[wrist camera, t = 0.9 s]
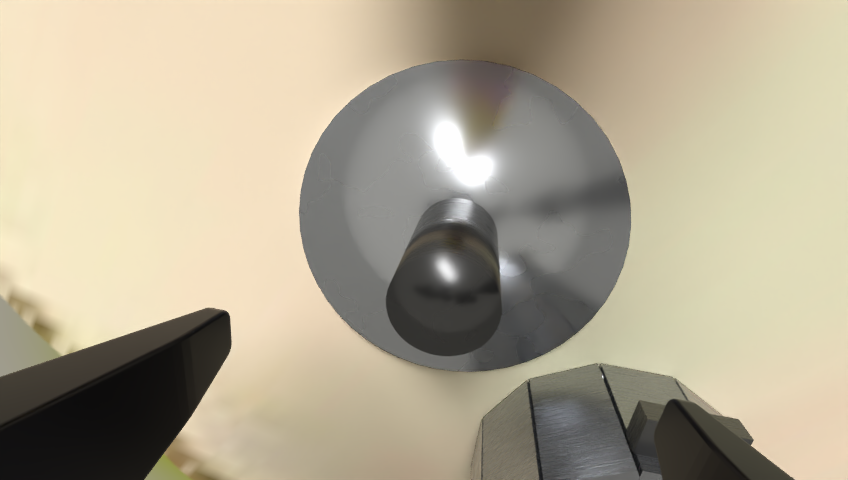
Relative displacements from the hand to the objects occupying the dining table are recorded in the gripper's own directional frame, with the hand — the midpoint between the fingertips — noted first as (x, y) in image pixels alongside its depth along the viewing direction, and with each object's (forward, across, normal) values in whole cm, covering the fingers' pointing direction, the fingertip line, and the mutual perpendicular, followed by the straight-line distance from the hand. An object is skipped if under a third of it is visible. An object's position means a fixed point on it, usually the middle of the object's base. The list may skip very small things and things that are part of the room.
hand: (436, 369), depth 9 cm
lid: (+8, 0, 0) cm, 8 cm away
